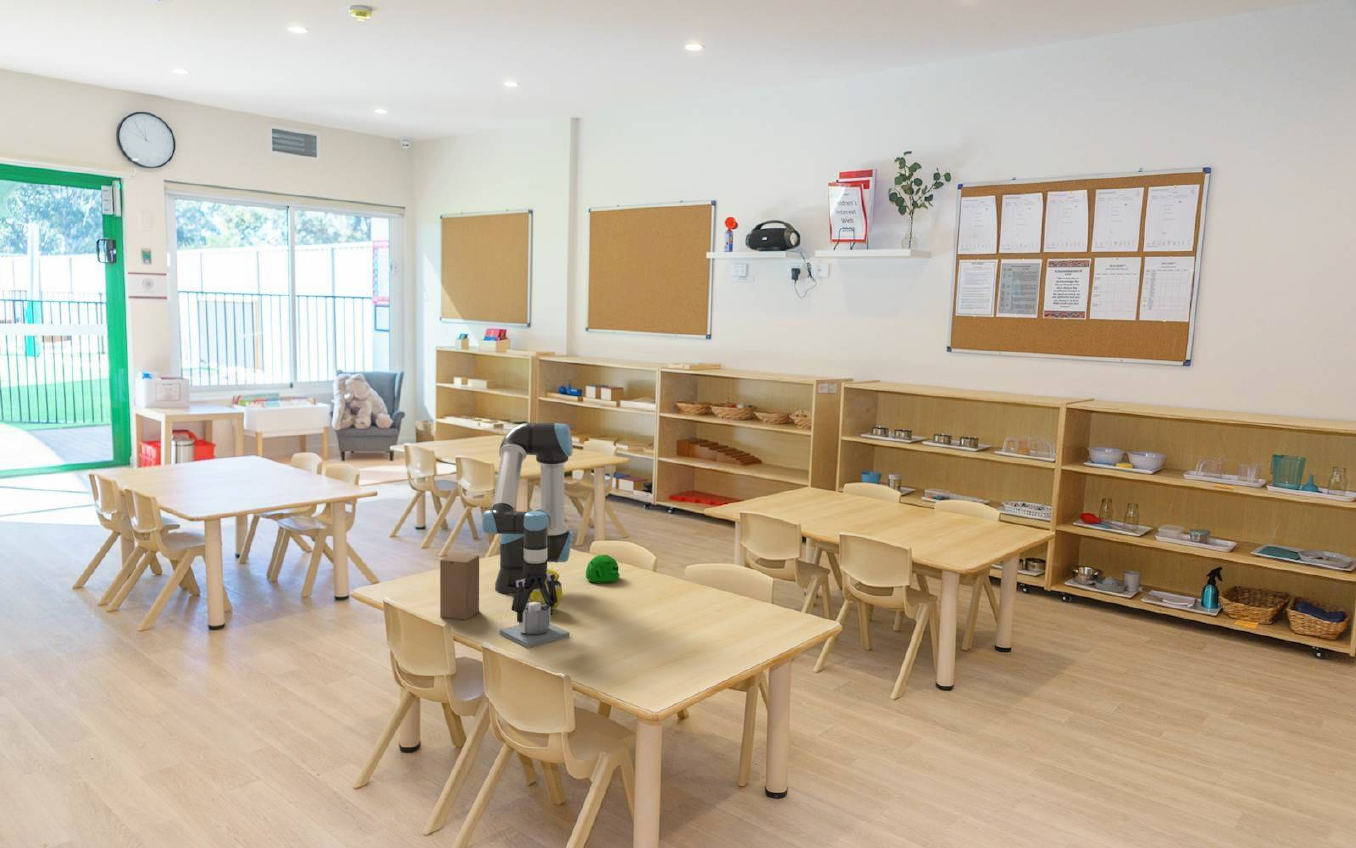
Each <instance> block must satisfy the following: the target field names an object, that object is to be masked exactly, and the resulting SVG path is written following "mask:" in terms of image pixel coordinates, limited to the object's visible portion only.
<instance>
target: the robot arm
mask: <svg viewBox="0 0 1356 848" xmlns="http://www.w3.org/2000/svg"><path fill="white" fill-rule="evenodd" d="M571 431H572V430H571V429H570V426H569V425H568V424H567V423H566V424H565V423H558V422H550V423H549V422H524V423H520V424H517V425H516V426H514V427H513V428H512V429H511V430H510V431H508V433H507V434H506V435H505V437H504V438H503V440H502V441H501V443H500V446H499V450H498V452H499V454H498V455H499V457H500V461H499V467H498V472H497V478H496V482H495V488H494V493H493V498H492V505H491V509H489V510H485V511H484V512H483V514H482V521H481V524H482V525H481V526H482V527H481V528H482V530H483V533H485V534H490V535H491V534H492V535H500V541H499V571H498V573H497V577H496V579H495V583H494V590H495V591H496V592H498V593H502V594H506V595H507V594H508V595H513V597H512V598H513V599H512V603H511V604H512V605H511V609H510V610H511V611H512V612H515V613H516V622H517V623H518V625H519V631H520V632H522V633H525V627H526V613H525V612H524V609H525V607H526V605H528V603H529V599H530V598H531V597H530V594H531V593H532V592H533V590H535V589H540V592H541V594H542V596H543V598H544V601H545V603H546V604H547V605H546V606H549V626H550V624H551V616H552V615H553V610H552V607H553V606H554V603H557V601H558V600H557V595H556V589H555V583H554V579H555V575H553V574H551V573H548V574H546V572H547V569H548V563H555V564H557V563H566V562H568V560H569V558H570V553H571V547H572V540H573V533H574V532H573V531H571V530H569V525H568V524H567V523H565V464H566V463H567V462H569V457H571V456H572V455H573V437H572V432H571ZM527 456H535V459H536V462H537V463H538V465H540V466H539V467H540V468H539V469H540V509H536V510H531V511H521V510H520V511H518V510H516V503H517V498H518V492H519V491H518V490H519V486H520V480H521V471H522V465H523V463H524V461H525V460H526V458H527ZM546 579H547V585H548V590H549V593H548V591H547V589H546V588H547V587H546V585H545V583H544V582H545V581H546Z"/></svg>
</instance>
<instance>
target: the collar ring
mask: <svg viewBox="0 0 1356 848" xmlns="http://www.w3.org/2000/svg"><path fill="white" fill-rule="evenodd" d="M524 612H525V613H526V627H525V633H526V634H540V633H544V632H547V631H548V629H549V606H546V605H544V604H541V610H540V611H529V603H527V604H526V607H525V609H524Z"/></svg>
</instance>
